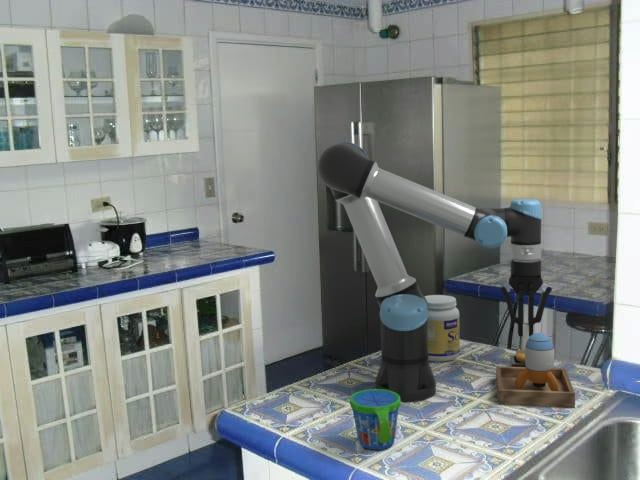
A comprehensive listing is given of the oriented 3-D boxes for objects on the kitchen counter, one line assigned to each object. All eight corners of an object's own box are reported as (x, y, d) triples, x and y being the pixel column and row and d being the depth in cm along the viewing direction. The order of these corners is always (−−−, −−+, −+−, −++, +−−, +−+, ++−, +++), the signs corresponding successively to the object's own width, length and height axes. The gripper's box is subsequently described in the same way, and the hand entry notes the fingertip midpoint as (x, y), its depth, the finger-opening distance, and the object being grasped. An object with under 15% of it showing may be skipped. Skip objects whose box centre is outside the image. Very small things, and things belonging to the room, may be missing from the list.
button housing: (511, 378, 182) (511, 363, 181) (510, 369, 189) (510, 355, 188) (540, 379, 180) (540, 364, 180) (537, 370, 187) (537, 355, 186)
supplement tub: (450, 365, 193) (450, 306, 191) (410, 359, 200) (409, 301, 197) (466, 352, 204) (465, 296, 201) (426, 347, 210) (426, 292, 207)
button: (516, 362, 182) (516, 354, 182) (515, 356, 187) (515, 349, 186) (534, 362, 181) (534, 355, 181) (533, 357, 186) (533, 349, 185)
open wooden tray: (498, 404, 165) (498, 390, 165) (496, 379, 182) (496, 366, 181) (574, 408, 162) (575, 393, 161) (565, 381, 178) (565, 368, 178)
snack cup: (347, 429, 155) (346, 385, 154) (395, 426, 156) (394, 382, 154) (355, 462, 140) (353, 413, 138) (407, 459, 140) (406, 410, 139)
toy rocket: (566, 399, 166) (559, 343, 162) (521, 407, 167) (512, 352, 163) (554, 378, 176) (546, 325, 172) (511, 386, 177) (503, 333, 173)
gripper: (500, 262, 177) (500, 352, 181) (554, 262, 175) (553, 353, 178) (498, 256, 185) (499, 343, 188) (550, 256, 182) (549, 344, 186)
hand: (525, 348), depth 183 cm, fingers closed
